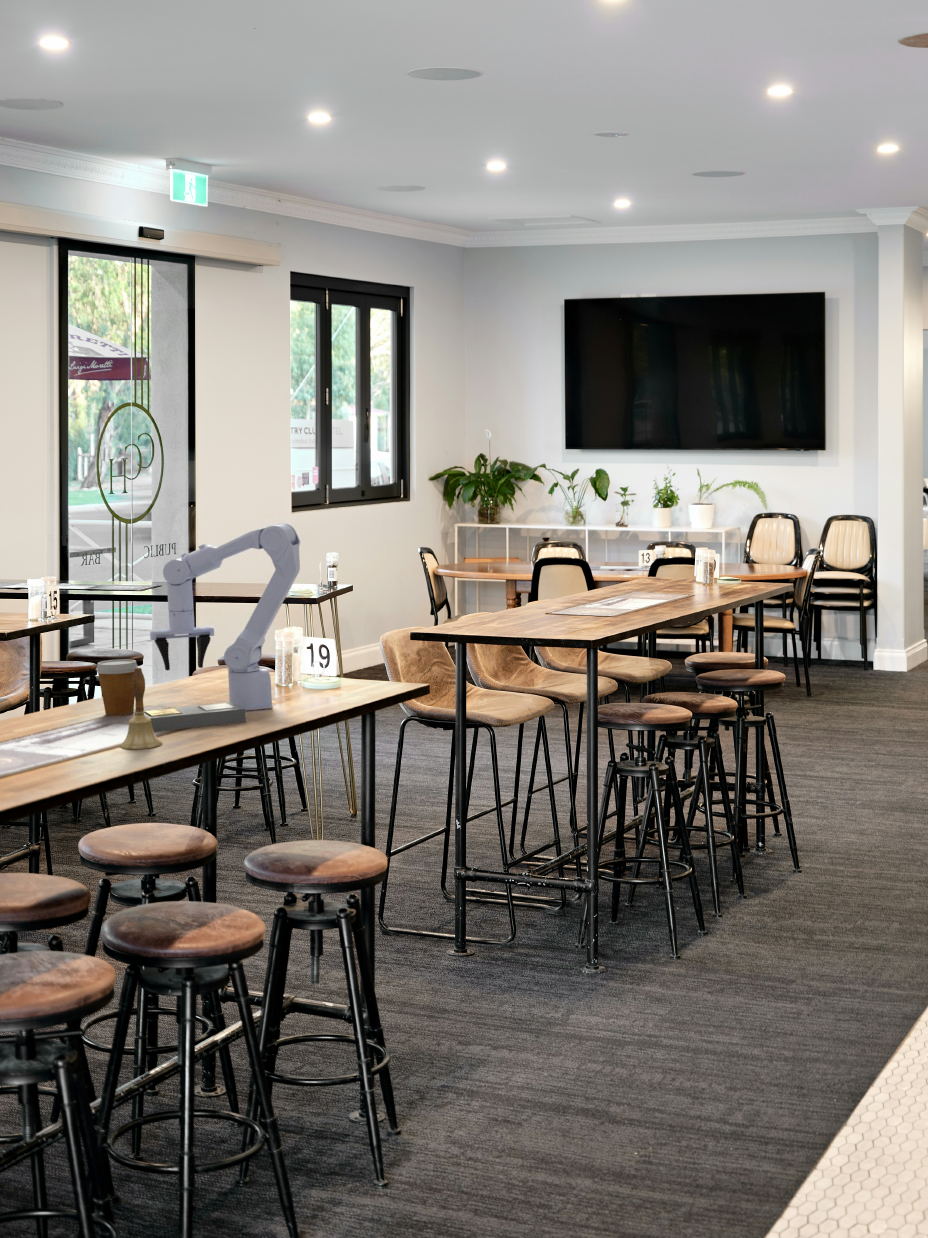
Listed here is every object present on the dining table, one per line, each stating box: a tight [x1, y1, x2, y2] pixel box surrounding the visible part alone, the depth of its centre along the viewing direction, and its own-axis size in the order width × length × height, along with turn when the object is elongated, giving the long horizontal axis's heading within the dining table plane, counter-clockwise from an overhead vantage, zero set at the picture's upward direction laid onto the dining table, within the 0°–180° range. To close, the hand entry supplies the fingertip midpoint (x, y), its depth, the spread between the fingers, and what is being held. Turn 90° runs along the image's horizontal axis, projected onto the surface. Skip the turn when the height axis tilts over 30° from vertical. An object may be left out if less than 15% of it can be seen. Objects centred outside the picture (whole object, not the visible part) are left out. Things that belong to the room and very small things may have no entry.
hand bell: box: [120, 667, 163, 750], centre depth 299 cm, size 8×8×16 cm
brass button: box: [145, 707, 181, 717], centre depth 321 cm, size 6×6×3 cm
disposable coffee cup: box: [95, 658, 139, 717], centre depth 338 cm, size 10×10×12 cm
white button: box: [199, 702, 234, 711], centre depth 326 cm, size 6×6×3 cm
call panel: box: [133, 701, 247, 733], centre depth 324 cm, size 22×11×3 cm, turn 115°
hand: (184, 668), depth 342 cm, fingers open, 7 cm apart
